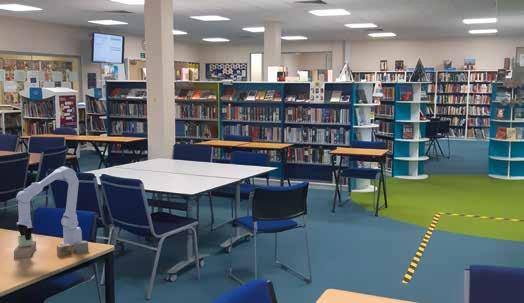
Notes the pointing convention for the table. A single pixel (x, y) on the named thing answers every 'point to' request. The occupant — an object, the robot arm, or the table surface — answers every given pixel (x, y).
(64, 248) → the walnut block
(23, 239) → the green block
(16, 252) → the brick
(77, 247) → the grey block
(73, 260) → the table surface
